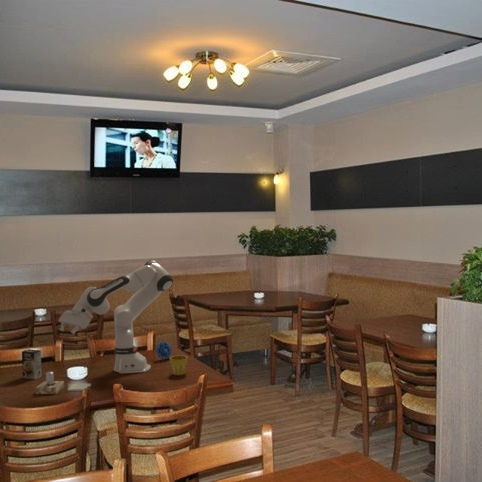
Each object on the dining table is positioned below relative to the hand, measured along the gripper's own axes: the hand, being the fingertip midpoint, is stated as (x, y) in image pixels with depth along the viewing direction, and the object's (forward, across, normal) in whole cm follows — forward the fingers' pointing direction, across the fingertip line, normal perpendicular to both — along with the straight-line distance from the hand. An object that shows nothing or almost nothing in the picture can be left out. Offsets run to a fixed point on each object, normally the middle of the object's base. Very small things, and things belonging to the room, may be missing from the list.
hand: (66, 331), depth 327 cm
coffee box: (+24, -30, +22) cm, 45 cm away
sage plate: (+22, +11, +20) cm, 32 cm away
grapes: (-26, +13, +70) cm, 76 cm away
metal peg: (+30, 0, +13) cm, 33 cm away
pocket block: (+30, 0, +13) cm, 33 cm away
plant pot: (-13, +42, +54) cm, 70 cm away
